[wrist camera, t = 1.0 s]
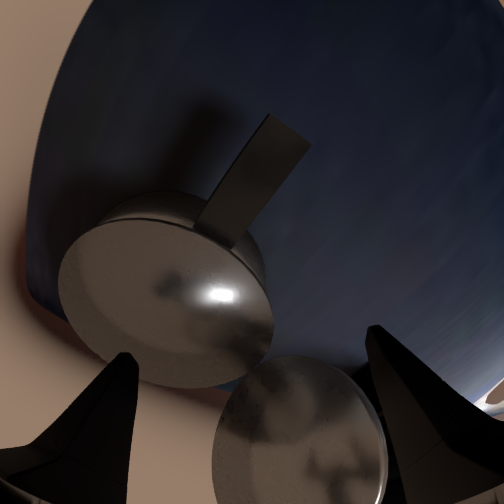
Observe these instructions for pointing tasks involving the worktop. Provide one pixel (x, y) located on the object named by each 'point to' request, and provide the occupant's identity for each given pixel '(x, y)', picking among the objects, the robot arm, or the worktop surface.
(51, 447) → the robot arm
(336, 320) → the worktop surface
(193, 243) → the cooker pot
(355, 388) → the lid
